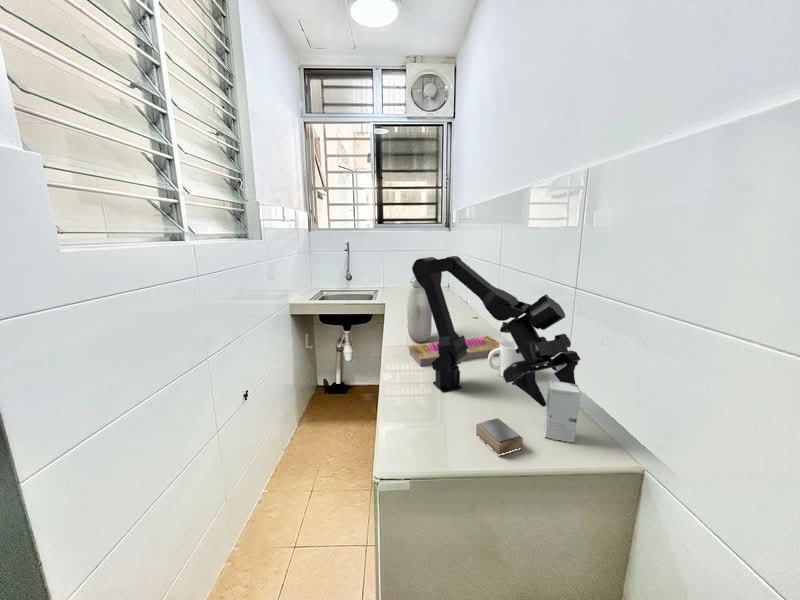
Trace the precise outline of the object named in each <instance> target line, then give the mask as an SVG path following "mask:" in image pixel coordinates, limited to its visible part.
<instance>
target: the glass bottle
mask: <svg viewBox="0 0 800 600" xmlns="http://www.w3.org/2000/svg"><path fill="white" fill-rule="evenodd" d="M408 291H409V292H408V295H407V296H408V297H407V301H406V303H407V304H406V311H407V312H406V316H407V332H408V336H409V338H410V339H411V340H413V341H414V342H416V343H423V342H426V341H427V340H429V338H430V337H431V335H432V317H433V315H432V312H431V309H430V305H429V302H428V299H427V296H426V292H425V290H424V289H423V287H422V286H421V285H420V284H419V283H418V282H417V280H416V278H415V276H414V275H413V277H412V278H411V279H410V282H409V290H408Z"/></svg>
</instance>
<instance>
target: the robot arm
mask: <svg viewBox="0 0 800 600" xmlns="http://www.w3.org/2000/svg"><path fill="white" fill-rule="evenodd" d="M411 271H412V273H413V277H414V276H415V278H416V280H417V282H418V283H419V284H420V285H421V286H422V287H423V289H424V290H425V292H426V296H427V299H428V302H429V305H430V309H431V312H432V317H433V322H434V324H435V328H436V332H437V335H438V341H437V342H438V351H437V352H438V353H439V354H438V353H437V354H438V356H439V357H438V358H437V359H435V360H434V361H433V362H432V363H431V364H432V365H431V367H432V369H433V370H434V371H435V381H433V382H432V384H433V385H434V386H435V387H436V388H437V389H438V390H439V391H441V392H442V393H444V392H445V393H446V392H450V391H455V390H459V389H462V385H461V384H460V383H461V370H460V366H459V365H461V363H462V362H463V361H462V360H463V359H464V358H465V357H466V355H467V352H468V351H467V349H468V347H467V345H466V343H465V339H466V337H465V336H464V335H462V336H460V335H459V334H457V332H456V330H455V327H454V324H453V321H452V317H451V315H450V311H449V308H448V305H447V301H446V297H445V296H444V295H445V294H444V291H443V288H442V284H441V283H442V278H443V273H442V272H448V273H450V274H451V276H453V277H454V278H455V279H456V280H457V281H459V282H460V283H461V284H463V285H464V286H465V287H466V288H467V289H469V290H470V291H471V292H472V293H473V294H474V295H475V296H477V297H478V298H479V299H480V301H481V302H482V303H483V305H484V307H485V309H486V310H487V312H488V313H489V315H491V316H492V318H493V319H494V320H496V321H499V322H502V324H501V327H500V329H499V332H500V333H505V334H509V333H510V335H511V337H512V339H513V340H514V341H515V343H516V345H517V347H518V348H517V349H516V350H515V351H516V353H517V354H519V353H521V355H522V357H523V359H524V361H519V362H514V363H512V364H511V365H510V366H509V367H507V368H506V369H505V370H504V371H503V377H502V378H503V379H504V380H505V383H506V384H509V383H511V385H512V386H516V387H517V388H519V389H520V390H522V391H523V393H526V394H527V395H528V396H530V398H532V399H533V400H534V401H535V402H536V403H538V404H539V405H540V406H541V407H542V408H543V407H546V406H547V401H546V400H545V397H544V395H543V394H542V391H541V390H540V387H539V386H538V383H537V382H536V372H538V371H542V370H543V371H544V370H547V369H552V370H553V371H555V372H554V373H553V374H554V376H555V377H556V379H558V382H565V383H570V384H576V385H577V383H576V378H575V369H576V366H578V365H579V361H581V358H580V356H579V354H578V353H577V351H574V350H568V348H570V347H571V345H572V342H571V340H570V338H569V337H568V335H567V334H566V333H561V334H556V335H554V339H553V340H547V338H546V337H545V336H540V335H539V333H538V332H537V330H542V331H545V330H547V329H548V328H550V327H552V326H553V325H555V324H558V322H560V321H562V320H563V319H565V318H566V313H565V311H564V309H563V308H562V307H561V305H560V304H559V303H558V302H556V301H555V299H553V298H551V297H549V296H548V294H543V295H542V296H541V297H540V298H538V300H537V301H535V302H534V303H532V304H529V303H527V302H523V301H521V300H518V298H517V297H516V296H514V295H513V294H512V293H509V292H508V291H505V290H504V289H500V288H497V287H496V286H494V285H492V284H491V283H489V281H487V279H485V278H484V277H482V276H481V274H479V273H478V272H476V271H475V270H474V269H473V268H471V267H470V266H469V265H468V264H466V263H465V262H464V261H462V259H461V257H459V256H457V255H452V256H447V257H445V258H439V259H438V258H436V257H433V256H430V257H429V256H427V257H423V258H417V259H416V260H415V261H414V262H413V265H412V266H411ZM509 319H511V320H510V321H508V322H507V320H509ZM536 329H537V330H536Z"/></svg>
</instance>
